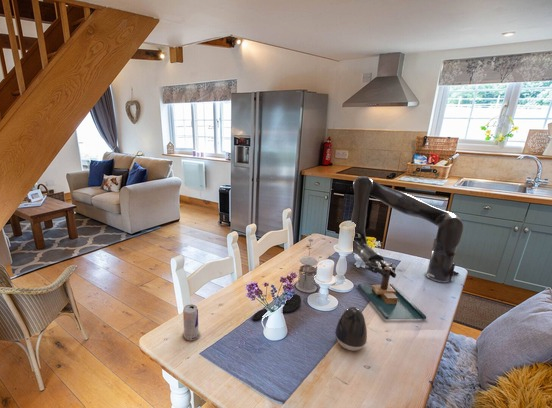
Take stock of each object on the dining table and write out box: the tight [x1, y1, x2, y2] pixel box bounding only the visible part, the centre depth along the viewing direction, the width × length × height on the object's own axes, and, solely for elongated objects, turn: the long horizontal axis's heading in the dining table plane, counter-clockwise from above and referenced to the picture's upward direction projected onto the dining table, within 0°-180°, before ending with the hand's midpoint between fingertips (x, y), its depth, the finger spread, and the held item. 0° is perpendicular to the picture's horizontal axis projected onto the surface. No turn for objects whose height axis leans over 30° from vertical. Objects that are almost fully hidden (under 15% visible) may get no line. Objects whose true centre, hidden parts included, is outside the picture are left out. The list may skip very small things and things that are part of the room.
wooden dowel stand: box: [371, 267, 396, 297], centre depth 135 cm, size 5×8×13 cm, turn 90°
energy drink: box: [182, 304, 199, 342], centre depth 113 cm, size 5×5×12 cm
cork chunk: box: [381, 292, 398, 304], centre depth 133 cm, size 4×4×3 cm
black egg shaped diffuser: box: [334, 306, 368, 352], centre depth 108 cm, size 10×10×15 cm
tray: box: [357, 283, 427, 320], centre depth 133 cm, size 24×16×2 cm, turn 0°
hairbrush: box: [252, 292, 302, 322], centre depth 129 cm, size 8×4×25 cm
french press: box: [295, 237, 319, 294], centre depth 142 cm, size 10×12×25 cm
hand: (390, 275), depth 131 cm, fingers closed on wooden dowel stand, 3 cm apart
